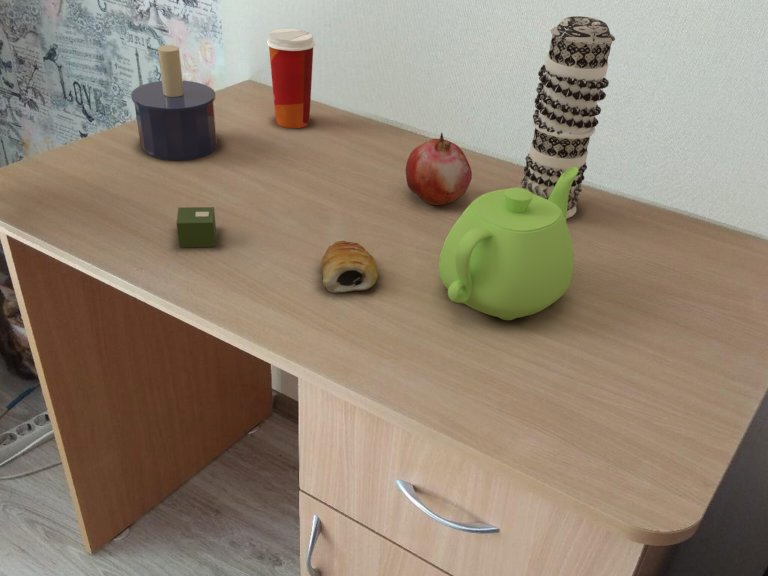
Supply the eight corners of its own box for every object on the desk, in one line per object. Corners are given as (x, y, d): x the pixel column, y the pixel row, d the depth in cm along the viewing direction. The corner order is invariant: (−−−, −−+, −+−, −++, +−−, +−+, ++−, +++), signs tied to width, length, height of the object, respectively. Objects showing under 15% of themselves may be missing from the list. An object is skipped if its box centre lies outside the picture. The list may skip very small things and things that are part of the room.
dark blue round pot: (138, 160, 116) (130, 110, 111) (145, 131, 125) (138, 83, 120) (216, 160, 118) (211, 111, 113) (217, 131, 126) (213, 84, 121)
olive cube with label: (179, 247, 97) (176, 222, 95) (181, 231, 100) (178, 206, 98) (215, 246, 98) (213, 221, 95) (216, 230, 101) (213, 206, 99)
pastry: (318, 254, 98) (318, 227, 95) (371, 254, 99) (373, 227, 96) (323, 295, 91) (323, 266, 88) (380, 294, 92) (382, 266, 89)
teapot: (510, 238, 104) (527, 143, 96) (607, 283, 97) (635, 184, 88) (399, 297, 91) (408, 193, 83) (501, 354, 84) (522, 246, 75)
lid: (127, 115, 111) (119, 60, 106) (136, 86, 120) (129, 34, 116) (214, 116, 113) (210, 62, 108) (216, 87, 122) (212, 36, 117)
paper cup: (296, 110, 136) (295, 25, 127) (324, 124, 131) (325, 37, 123) (259, 119, 131) (255, 31, 122) (287, 134, 127) (285, 44, 118)
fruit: (417, 179, 117) (423, 112, 111) (476, 194, 114) (485, 127, 108) (391, 202, 110) (396, 133, 104) (453, 218, 108) (462, 149, 101)
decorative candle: (510, 213, 110) (543, 25, 94) (521, 187, 117) (553, 8, 101) (574, 226, 108) (619, 36, 92) (581, 199, 115) (624, 18, 99)
